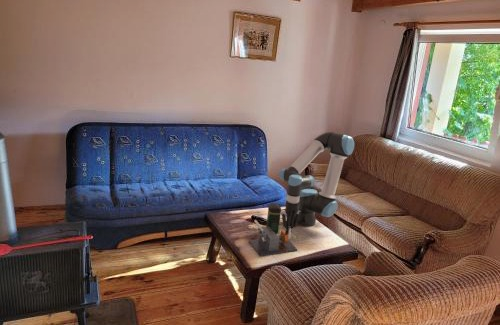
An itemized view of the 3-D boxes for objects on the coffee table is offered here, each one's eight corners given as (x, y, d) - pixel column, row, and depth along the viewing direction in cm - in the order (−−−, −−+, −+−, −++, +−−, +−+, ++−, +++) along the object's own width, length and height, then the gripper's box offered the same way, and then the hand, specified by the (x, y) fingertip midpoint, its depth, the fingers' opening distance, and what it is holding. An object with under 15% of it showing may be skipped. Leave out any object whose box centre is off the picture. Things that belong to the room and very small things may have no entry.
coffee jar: (279, 235, 224) (282, 208, 219) (266, 234, 223) (269, 207, 218) (277, 228, 233) (280, 202, 228) (265, 227, 233) (267, 201, 227)
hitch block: (283, 237, 222) (285, 220, 219) (297, 250, 208) (299, 233, 204) (248, 241, 213) (250, 224, 210) (259, 256, 198) (261, 238, 195)
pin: (282, 238, 215) (283, 229, 214) (287, 243, 210) (288, 234, 208) (260, 241, 210) (261, 232, 208) (264, 247, 204) (265, 237, 203)
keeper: (260, 231, 208) (262, 230, 208) (265, 236, 202) (267, 235, 203) (253, 220, 203) (255, 218, 204) (257, 225, 198) (259, 223, 198)
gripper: (299, 197, 212) (294, 233, 219) (279, 199, 207) (275, 235, 214) (305, 202, 205) (300, 239, 212) (285, 204, 200) (281, 241, 207)
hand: (288, 237), depth 213 cm, fingers closed
